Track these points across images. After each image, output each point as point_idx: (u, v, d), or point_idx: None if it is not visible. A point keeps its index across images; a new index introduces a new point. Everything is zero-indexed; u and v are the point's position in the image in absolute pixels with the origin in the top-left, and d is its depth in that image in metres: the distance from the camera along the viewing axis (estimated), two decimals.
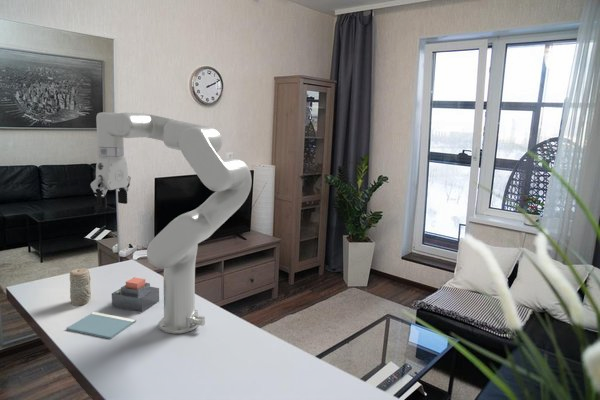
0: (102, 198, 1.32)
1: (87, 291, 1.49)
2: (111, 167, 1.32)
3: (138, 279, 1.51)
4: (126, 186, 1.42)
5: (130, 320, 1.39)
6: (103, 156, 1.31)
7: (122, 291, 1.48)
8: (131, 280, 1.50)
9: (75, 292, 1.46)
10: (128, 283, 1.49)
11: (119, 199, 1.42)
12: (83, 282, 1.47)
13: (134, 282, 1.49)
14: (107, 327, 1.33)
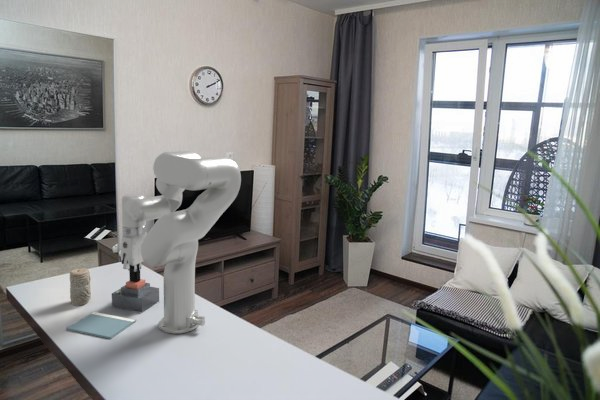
0: (134, 273, 1.49)
1: (87, 291, 1.49)
2: (134, 245, 1.44)
3: None
4: (141, 264, 1.51)
5: (130, 320, 1.39)
6: (127, 235, 1.44)
7: (122, 291, 1.48)
8: None
9: (75, 292, 1.46)
10: (128, 284, 1.49)
11: None
12: (83, 282, 1.47)
13: (134, 283, 1.49)
14: (107, 327, 1.33)
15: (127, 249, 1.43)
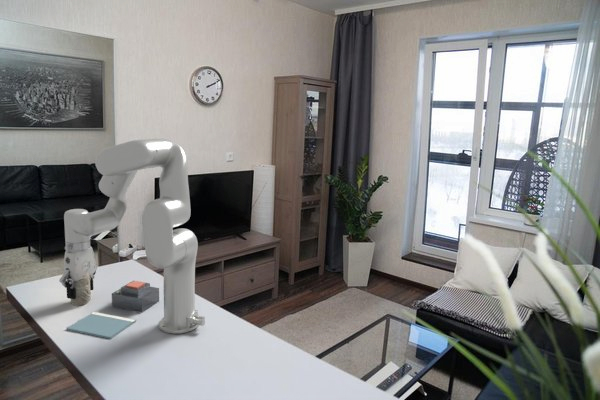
0: (71, 289, 1.45)
1: (87, 291, 1.49)
2: (77, 260, 1.44)
3: (138, 283, 1.51)
4: (92, 274, 1.53)
5: (130, 320, 1.39)
6: (70, 251, 1.44)
7: (122, 291, 1.48)
8: (131, 283, 1.51)
9: None
10: (128, 287, 1.49)
11: None
12: (83, 282, 1.47)
13: (135, 286, 1.49)
14: (107, 327, 1.33)
15: (70, 264, 1.43)
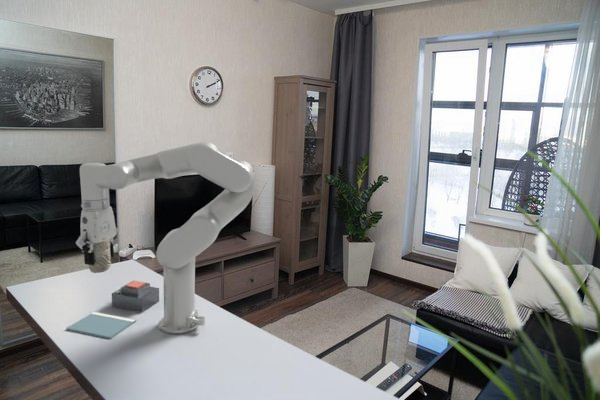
0: (89, 254, 1.27)
1: (107, 256, 1.32)
2: (96, 220, 1.26)
3: (138, 283, 1.51)
4: (112, 238, 1.36)
5: (130, 320, 1.39)
6: (87, 209, 1.26)
7: (122, 291, 1.48)
8: (131, 283, 1.51)
9: (94, 257, 1.29)
10: (128, 287, 1.49)
11: None
12: (102, 246, 1.29)
13: (135, 286, 1.49)
14: (107, 327, 1.33)
15: (87, 225, 1.25)
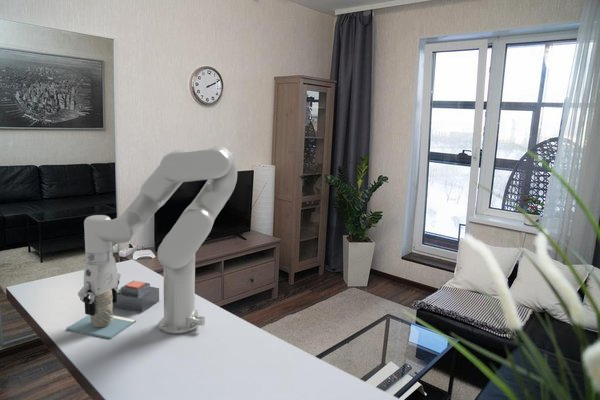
0: (90, 305, 1.29)
1: (109, 311, 1.34)
2: (99, 273, 1.29)
3: (138, 283, 1.51)
4: (115, 285, 1.38)
5: (130, 320, 1.39)
6: (91, 262, 1.28)
7: (122, 291, 1.48)
8: (131, 283, 1.51)
9: (96, 313, 1.31)
10: (128, 287, 1.49)
11: None
12: (105, 302, 1.32)
13: (135, 286, 1.49)
14: (107, 327, 1.33)
15: (90, 277, 1.28)
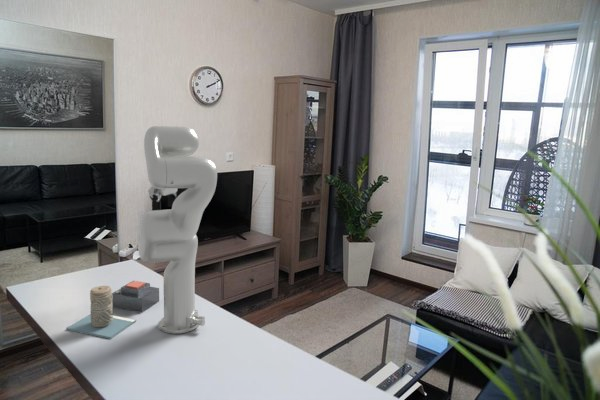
0: (157, 203, 1.50)
1: (109, 311, 1.34)
2: None
3: (138, 283, 1.51)
4: None
5: (130, 320, 1.39)
6: None
7: (122, 291, 1.48)
8: (131, 283, 1.51)
9: (96, 313, 1.31)
10: (128, 287, 1.49)
11: (169, 203, 1.60)
12: (105, 302, 1.32)
13: (135, 286, 1.49)
14: (107, 327, 1.33)
15: None
